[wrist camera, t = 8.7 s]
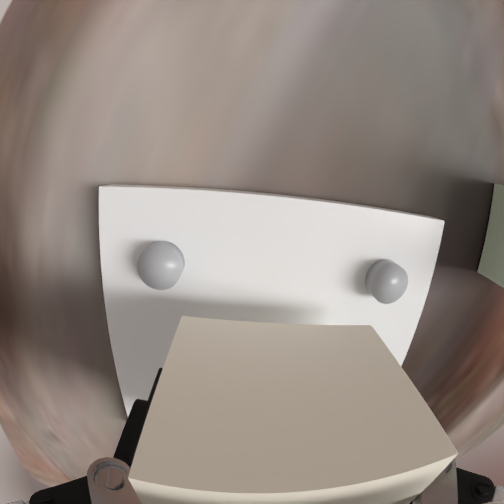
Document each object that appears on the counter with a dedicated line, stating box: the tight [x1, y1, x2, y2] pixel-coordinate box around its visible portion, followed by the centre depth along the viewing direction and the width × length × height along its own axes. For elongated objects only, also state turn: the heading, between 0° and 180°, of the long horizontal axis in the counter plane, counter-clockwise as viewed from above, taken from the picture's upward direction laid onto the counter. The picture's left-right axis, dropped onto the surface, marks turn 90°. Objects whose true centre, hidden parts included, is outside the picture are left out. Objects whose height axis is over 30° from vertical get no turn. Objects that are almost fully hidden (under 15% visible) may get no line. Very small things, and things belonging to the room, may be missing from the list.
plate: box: [99, 184, 445, 416], centre depth 12 cm, size 14×14×2 cm
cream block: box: [128, 316, 458, 504], centre depth 7 cm, size 6×6×6 cm
